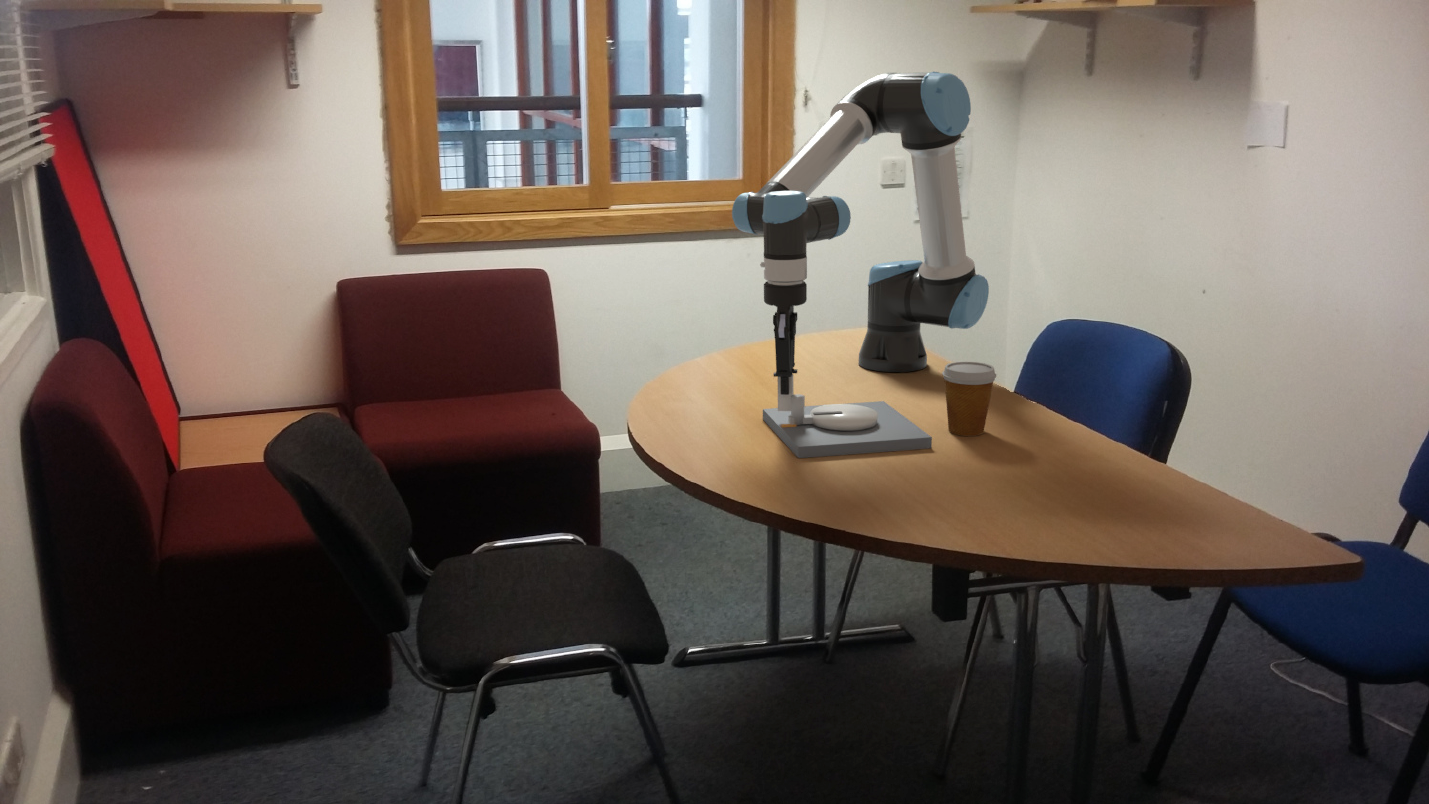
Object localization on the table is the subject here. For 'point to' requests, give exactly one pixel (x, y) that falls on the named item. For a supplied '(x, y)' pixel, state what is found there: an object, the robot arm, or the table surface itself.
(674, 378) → the table surface
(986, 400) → the disposable coffee cup
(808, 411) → the panel
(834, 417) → the dial
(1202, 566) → the table surface
